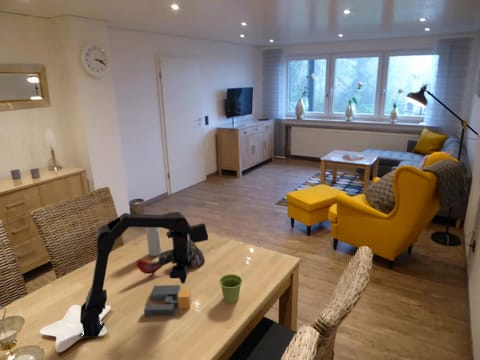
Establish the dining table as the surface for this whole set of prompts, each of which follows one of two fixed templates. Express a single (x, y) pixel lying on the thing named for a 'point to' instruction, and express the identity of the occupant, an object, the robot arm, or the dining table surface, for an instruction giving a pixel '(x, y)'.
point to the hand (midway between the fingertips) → (183, 281)
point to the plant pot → (230, 287)
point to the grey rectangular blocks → (161, 294)
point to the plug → (181, 300)
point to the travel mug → (153, 241)
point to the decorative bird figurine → (148, 266)
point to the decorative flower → (196, 255)
